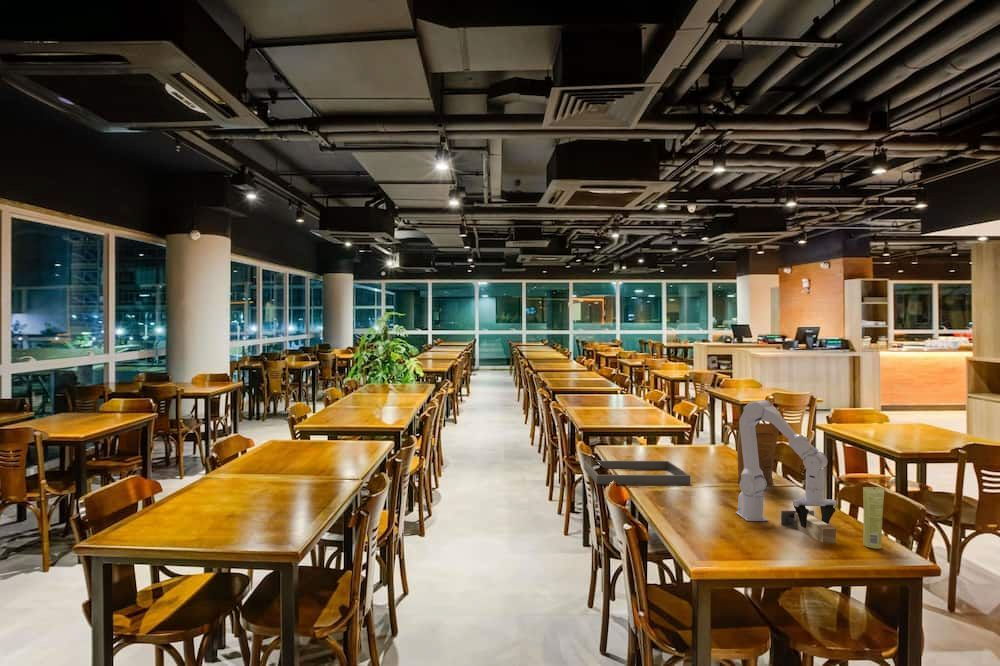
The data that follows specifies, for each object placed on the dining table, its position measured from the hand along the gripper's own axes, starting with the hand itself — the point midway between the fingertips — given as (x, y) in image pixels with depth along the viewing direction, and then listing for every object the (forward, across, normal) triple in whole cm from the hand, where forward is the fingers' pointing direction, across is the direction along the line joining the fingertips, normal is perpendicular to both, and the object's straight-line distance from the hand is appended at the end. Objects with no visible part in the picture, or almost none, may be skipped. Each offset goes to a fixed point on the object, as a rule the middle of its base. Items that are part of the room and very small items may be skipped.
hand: (814, 526), depth 195 cm
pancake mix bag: (+3, +13, +63) cm, 64 cm away
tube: (+3, +13, -11) cm, 17 cm away
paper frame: (+3, -40, +76) cm, 86 cm away
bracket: (+3, 0, +8) cm, 8 cm away
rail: (+3, 0, 0) cm, 3 cm away
